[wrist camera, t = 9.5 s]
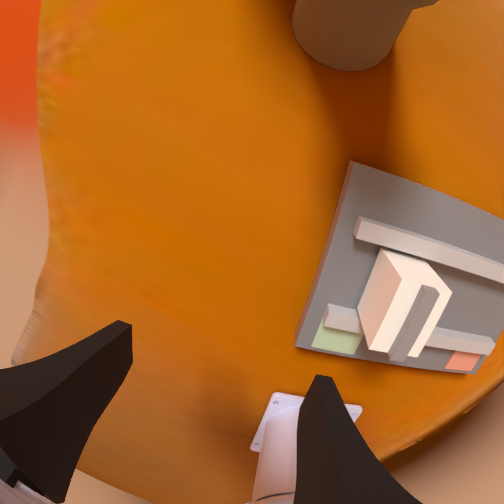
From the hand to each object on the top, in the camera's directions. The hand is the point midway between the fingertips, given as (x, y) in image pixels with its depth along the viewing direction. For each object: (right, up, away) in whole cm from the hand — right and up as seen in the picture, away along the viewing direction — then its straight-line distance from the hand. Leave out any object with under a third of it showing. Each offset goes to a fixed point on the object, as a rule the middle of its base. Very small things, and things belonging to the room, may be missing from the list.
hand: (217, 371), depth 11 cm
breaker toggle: (+9, +3, +6) cm, 11 cm away
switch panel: (+13, +2, +7) cm, 15 cm away
